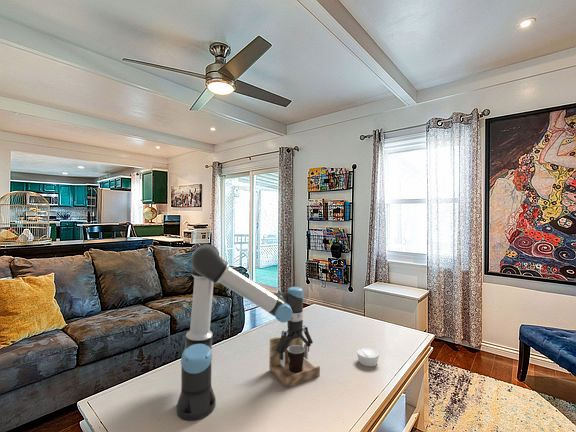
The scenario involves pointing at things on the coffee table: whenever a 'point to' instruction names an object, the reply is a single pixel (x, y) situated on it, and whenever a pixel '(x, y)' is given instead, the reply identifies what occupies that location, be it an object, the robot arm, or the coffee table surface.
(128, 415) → the coffee table surface
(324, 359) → the coffee table surface
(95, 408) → the coffee table surface
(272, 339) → the light brown blocky piece
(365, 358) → the ramekin
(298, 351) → the coffee mug
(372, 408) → the coffee table surface
